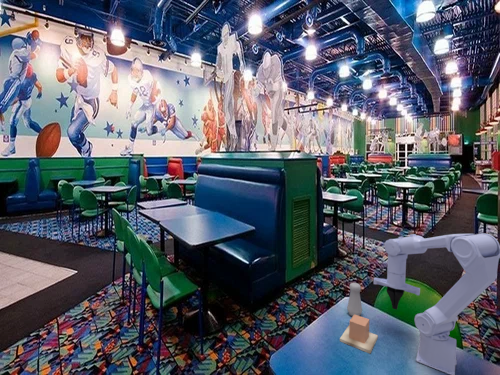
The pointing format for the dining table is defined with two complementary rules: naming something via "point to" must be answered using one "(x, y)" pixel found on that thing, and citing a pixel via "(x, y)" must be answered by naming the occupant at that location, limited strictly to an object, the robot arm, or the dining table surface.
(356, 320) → the orange tan block
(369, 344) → the birch board
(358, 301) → the salt shaker
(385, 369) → the dining table surface
